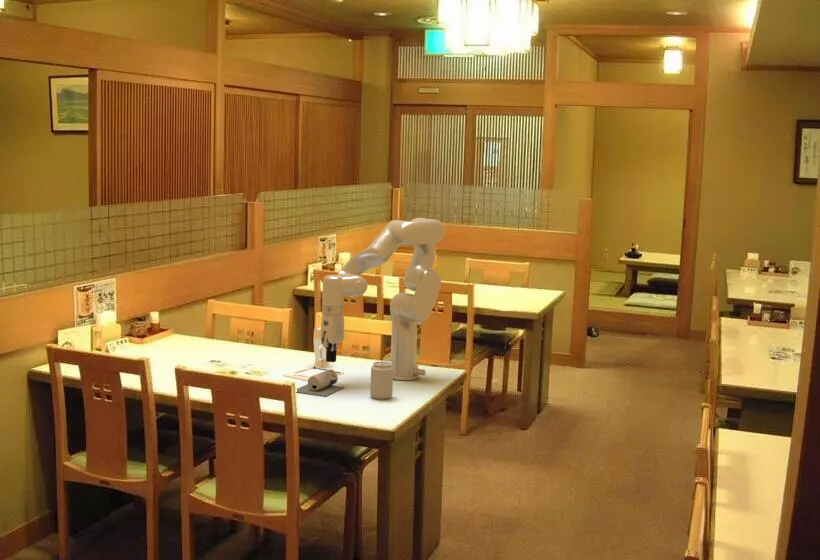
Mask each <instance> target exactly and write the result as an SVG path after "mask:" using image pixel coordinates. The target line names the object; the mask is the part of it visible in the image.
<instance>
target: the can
mask: <svg viewBox="0 0 820 560" xmlns="http://www.w3.org/2000/svg"><path fill="white" fill-rule="evenodd" d="M393 385H394V379H393V367H392V366H391V362H388V361H381V360H380V361H374V362H373V363H372V365H371V368H370V390H369V391H370V393H369V394H370V396H371V397H372V398H373V399H376V400H381V401H382V400H388V399H390V398H392V397H393Z"/></svg>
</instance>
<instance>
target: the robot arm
mask: <svg viewBox="0 0 820 560" xmlns="http://www.w3.org/2000/svg"><path fill="white" fill-rule="evenodd" d="M445 235H446V226H445V225H444V224H443V222H442V221H440V220H438V219H435V218H434V219H432V218H425V217H416V218H413V219H411V220H410V221H409V220H401V219H393V220H391V221H389V222H388V223H387V224H386V225H385V227H383V229H382V230H381V231H380V232H379V234H378V235H377V236H376V237H375V239H373V241H372V242H371V243H370V245H369V246H367V248H365V249H364V250H361V251H360V252H359V253H356V255H355V256H352V257H351V258H350V259H349V260H348V261H347V262H346V263H345V264H344V265H343V266H342V267H341V269H339V271H338V273H336V274H329V275H328V274H327V275H325V276H324V277H322V278H323V279H322V295H321V296H322V297H321V300H322V301H321V302H322V303H321V315H322V318H321V323H320V324H321V325H320V327H321V342H322V343H323V347H326V361H327V362H329V363H336V362H337V350H338V345H339V344H340V342H343V341H344V340H345V318H344V317H345V316H344V303H345V301H344V300H345V299H344V298H345V296H347V297H348V296H350V297H360V296H362V295H364V294H365V293H366V291H367V290H368V282H367V280H366V278H364V277H363V276H361V275H362V274H363V273H365V272H366V271H367V272H368V271H369V270H371V269H373V268H377V267H380V266H382V265H385V264H386V263H387V262H388V261H389V260H390V258H391V257H392V256H393V254H394V253H396V251H397V250H398V249H399V247H401V245H405V246H413V253H412V255H411V259H410V261H409V264H408V266H407V268H406V271H405V274H404V277H403V285H404V286H405V288H407V289H408V290H409V291H412V292H414V293H413V294H412V293H408V292H399V293H397V294H395V295H394V296H392V298H391V300H390V303H389V314H390V318H391V335H390V336H391V338H390V363H391V366H392V367H393V380H394V379H395V381H415V380H418V379H420V376H426V374H427V372H426V369H425V368H424V369H422V368H419V364H417V349H418V348H417V347H418V346H417V345H418V344H417V342H418V325H417V324H418V323H423V322H425V321H427V319H428V318H429V317H430V315H431V313H432V312H433V309H434V306H435V304H436V301H437V298H438V295H439V293H440V291H441V287H442V278H441V275H440V273H439V272H438V271H437V270H435V269H433V267H434V264H435V261H436V256H437V248H436V245H435V244H437V243H439V242H441V241H442V240H443V239H444V237H445ZM328 341H329V342H328Z"/></svg>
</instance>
